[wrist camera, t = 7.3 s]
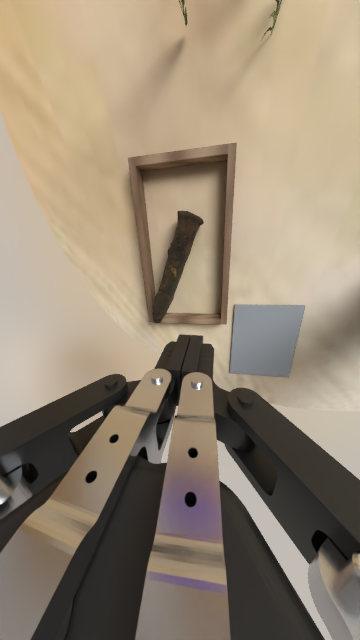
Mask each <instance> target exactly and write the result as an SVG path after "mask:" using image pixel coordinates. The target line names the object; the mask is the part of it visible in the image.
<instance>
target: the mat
mask: <svg viewBox="0 0 360 640" xmlns="http://www.w3.org/2000/svg"><path fill="white" fill-rule="evenodd" d="M304 310H305V306H304V305H235V307H234V321H233V335H232V348H231V362H230V373H237V374H250V375H263V376H277V377H289V373H290V369H291V365H292V360H293V356H294V352H295V348H296V343H297V339H298V335H299V331H300V327H301V322H302V318H303V314H304Z"/></svg>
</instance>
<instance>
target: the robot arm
mask: <svg viewBox="0 0 360 640" xmlns="http://www.w3.org/2000/svg"><path fill="white" fill-rule="evenodd" d="M213 361H214V348H213V347H212V345H211V344H203V336H198V335H179V337H178V339H177V342H170V343H168V344H167V345H166V346H165V348H164V350H163V352H162V354H161V356H160V358H159V361H158V363H157V365H156V367H155V369H153V370H151V371H149V372H147V373H146V374H145V375H144V377H143V378H142V380H138V381H132V382H126V378H125V377H124V376H122V375H120V374H113V375H109V376H106V377H104V378H102V379H100V380H98V381H96V382H94V383H91V384H89V385H87V386H85V387H83V388H81V389H79V390H77V391H75V392H73V393H70V394H69V395H66V396H64V397H62V398H60V399H58V400H56V401H54V402H52V403H50V404H47V405H45V406H43V407H41V408H39V409H37V410H35V411H33V412H31V413H29V414H27V415H25V416H22V417H20V418H19V419H16V420H14V421H12V422H10V423H8V424H6V425H4V426H2V427H0V640H325V639H324V638H323V636H322V634H321V633H320V631H319V629H318V628H317V626H316V625H315V623H314V621H313V619H312V618H311V616H310V614H309V613H308V611H307V610H306V608H305V606H304V604H303V603H302V601H301V599H300V598H299V596H298V594H297V593H296V591H295V590H294V588H293V586H292V584H291V583H290V581H289V579H288V578H287V576H286V574H285V573H284V571H283V569H282V568H281V566H280V564H279V563H278V561H277V559H276V558H275V556H274V554H273V553H272V551H271V549H270V547H269V546H268V544H267V543H266V541H265V539H264V537H263V536H262V534H261V532H260V531H259V529H258V527H257V526H256V524H255V522H254V521H253V519H252V517H251V516H250V514H249V512H248V511H247V509H246V508H245V506H244V505H243V504H242V502H241V501H240V500H239V498H238V497H237V496H236V495H235V494H234V493H233V491H232V490H231V489H229V488H228V487H227V486H226V485H225V484H223V483H222V482H220V481H219V470H218V454H217V440H219V441H221V442H223V443H224V444H225V447H226V449H227V451H228V452H229V453H230V455H231V456H232V458H233V459H234V461H235V462H236V463H237V464H238V466H239V467H240V469H241V470H242V472H243V473H244V474H245V476H246V477H247V478H248V480H249V481H250V483H251V484H252V485H253V487H254V488H255V490H256V491H257V492H258V494H259V495H260V497H261V498H262V499H263V501H264V502H265V504H266V505H267V506H268V507H269V509H270V510H271V512H272V513H273V515H274V516H275V518H276V519H277V520H278V522H279V523H280V524H281V526H282V527H283V528H284V530H285V531H286V533H287V534H288V536H289V537H290V538H291V540H292V541H293V543H294V544H295V545H296V547H297V548H298V550H299V551H300V552H301V554H302V555H303V556H304V558H305V559H306V561H307V562H308V563H309V570H308V582H309V587H310V592H311V595H312V598H313V601H314V604H315V606H316V608H317V610H318V613H319V614H320V616H321V618H322V620H323V622H324V623H325V625H326V627H327V629H328V631H329V633H330V635H331V637H332V639H333V640H360V480H359V479H358V478H356V477H355V476H354V475H353V474H352V473H351V472H349V471H348V470H347V469H346V468H345V467H344V466H342V465H341V464H340V463H339V462H338V461H336V460H335V459H334V458H333V457H332V456H330V455H329V454H328V453H327V452H326V451H325V450H323V449H322V448H321V447H320V446H319V445H317V444H316V443H315V442H314V441H313V440H312V439H310V438H309V437H308V436H307V435H306V434H304V433H303V432H302V431H301V430H300V429H299V428H297V427H296V426H295V425H294V424H293V423H291V422H290V421H289V420H288V419H287V418H286V417H284V416H283V415H282V414H281V413H279V412H278V411H277V410H276V409H275V408H274V407H272V406H271V405H270V404H269V403H268V402H267V401H265V400H264V399H263V398H262V397H261V396H260V395H258V394H257V393H256V392H254V391H252V390H250V389H247V388H236V389H234V390H232V391H231V392H228V391H225V390H223V389H221V388H219V387H218V386H217V385H216V384H215V383H214V381H213ZM176 406H179V407H178V413H177V416H175V418H174V413H175V409H176ZM101 411H102V413H103V416H102V417H100V418H98V419H96V420H95V421H93V422H91V423H90V424H88V425H86V426H85V427H83V428H81V429H80V430H78V431H76V432H72V433H71V432H70V431H71V429H72V428H74V427H75V426H76V425H78V424H80V423H82V422H83V421H85V420H87V419H89V418H90V417H92V416H94V415H95V414H97V413H99V412H101ZM173 421H174V423H173ZM172 424H173V429H172V435H171V442H170V447H169V454H168V461H167V463H161V458H162V454H163V451H164V448H165V445H166V442H167V439H168V436H169V433H170V430H171V427H172Z"/></svg>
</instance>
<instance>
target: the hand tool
mask: <svg viewBox="0 0 360 640" xmlns="http://www.w3.org/2000/svg"><path fill="white" fill-rule="evenodd" d="M203 223H204V222H203V220H202V219H201V218H200V217H199V216H196V215H194V214H192V213H190V212H188V211H178V226H177V229H176V232H175V236H174V239H173V241H172V243H171V247H170V248H169V249H168V260H167V264H166V267H165V270H164V274H163V278H162V281H161V285H160V288H159V291H158V293H157V295H156V298H155V303H154V306H153V312H152V315H153V321H154V322H155V323H160V322H161V321H162V319H163V317H164V316H165V315H166V312H167V310H168V308H169V306H170V304H171V302H172V300H173V297H174V293H175V291H176V288H177V285H178V283H179V280H180V278H181V275H182V272H183V269H184V266H185V263H186V261H187V259H188V256H189V254H190V251H191V248H192V245H193V241H194V238H195V235H196V233H197V230H198V228H199V226H200V225H202V224H203Z"/></svg>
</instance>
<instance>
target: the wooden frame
mask: <svg viewBox="0 0 360 640" xmlns="http://www.w3.org/2000/svg"><path fill="white" fill-rule="evenodd" d="M226 160H227V176H226V201H225V225H224V249H223V273H222V298H221V314H188V313H166V315H165V316H164V317H163V319H162V321H161V322H162V323H197V324H226V322H227V304H228V286H229V268H230V251H231V233H232V215H233V197H234V179H235V161H236V143H231V144H223V145H216V146H209V147H202V148H195V149H188V150H181V151H174V152H167V153H160V154H152V155H145V156H138V157H131V158H128V162H129V169H130V177H131V184H132V192H133V200H134V207H135V215H136V223H137V230H138V238H139V246H140V253H141V261H142V269H143V276H144V284H145V292H146V299H147V307H148V315H149V322H154V321H153V315H152V312H153V306H154V303H155V298H156V296H155V287H154V278H153V269H152V260H151V251H150V241H149V232H148V223H147V214H146V205H145V196H144V186H143V177H142V171H146V170H154V169H162V168H170V167H178V166H186V165H194V164H202V163H210V162H218V161H226Z"/></svg>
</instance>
